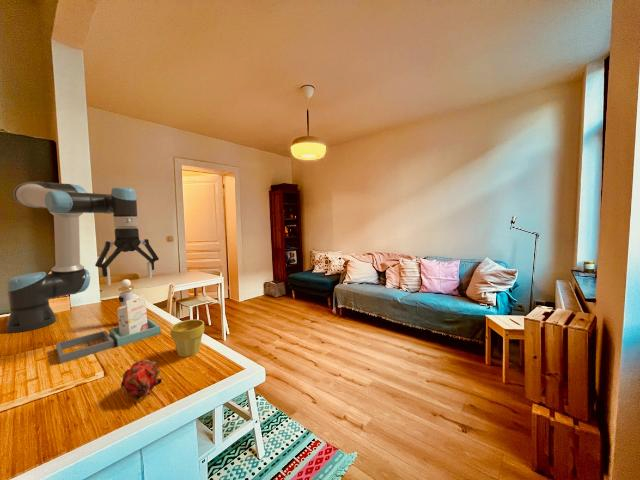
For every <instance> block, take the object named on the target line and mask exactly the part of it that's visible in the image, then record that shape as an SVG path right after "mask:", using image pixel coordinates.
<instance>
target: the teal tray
mask: <svg viewBox="0 0 640 480" xmlns="http://www.w3.org/2000/svg"><path fill="white" fill-rule="evenodd" d="M147 324H148V329H147V330H143V331H140V332H136V333H133V334H129V335H126V336H122V337H120V331H119V326H115V327H112V328H109V329H108V332H109V333H108V334H109V335H110V337H111V338H112V339H113V340H114V344H116V346H117V347H118V348H119V347H122V346H125V345H128V344H132V343H135V342H139V341H142V340H144V339H147V338H151V337H154V336H157V335H161V333H162V332H161V325H159V324H157V323H156V322H155V321H154V320H152V319H150V318H147Z"/></svg>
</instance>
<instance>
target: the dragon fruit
mask: <svg viewBox="0 0 640 480" xmlns="http://www.w3.org/2000/svg"><path fill="white" fill-rule="evenodd" d="M157 366H158V362H156V361H152V360H149V359H145V358H144V359H142V360H139V361H137V362H135V363H133V364H132V365H131V366H130V368H129V369H126V371H125V372H124V373H123V374H122V382H121V384H120V388H121V389H122V390H124V391H125V393H126V394H128V395H130V397H132V398H133V399H134V400H140V398H141V397H142V396H143V397H144V396H145V397H146V396H147V395H149V394H150V392H151V390H152V389H154V387H156V386H158V385H160V384H161V383H162V381H163V377H159V375H160V371H161V370H159V369H158V368H157ZM158 377H159V378H158Z"/></svg>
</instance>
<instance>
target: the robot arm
mask: <svg viewBox="0 0 640 480" xmlns="http://www.w3.org/2000/svg"><path fill="white" fill-rule="evenodd" d="M12 195H13V198H14V199H15V201H16V202H17V203H19V204H20V205H23V206H26V207H30V208H35V209H47V210H48V212H49V214H51V215H53V225H54V229H53V230H54V258H55V265H54V266H53V267H52V268H51V270H50V273H46V272H45V271H37V272H31V273H25V274H20V275H17V276H14V277H12V278H10V279H9V280H8V281H7V289H6V290H7V294H8V300H9V301H8V302H9V309H10V312H9V313H10V314H9V316H8V319H7V323H6V325H5V331H6V332H7V333H20V332H27V331H33V330H36V329H41V328H45V327H46V326H49V325H52V324H54V323H56V322H57V316H56V314H55V312H54V311H53V309H52V308H51V305H50V302H49V301H50V300H51V299H55V298H60V297H65V296H69V295H76V294H78V293H82V292H84V291H86V290H87V289H88V288H89V287H90V282H91V276H90V272H89V270H88V269H86V268H85V266H83V265H82V264H81V254H80V253H81V251H80V250H81V249H80V248H81V247H80V245H81V244H80V216H81V215H83V214H84V213H85V214H113V215H112V217H113V227H114V228H115V229H114V238H115V239H114V241H108V240H106V241H105V242H104V247H103V249H102V251H101V253H100V255H99V257H98V258H97V260H96V262H95V264H94V265H95V267H97V268H101V272H102V276H103V278H105V277H106V278H105V280H106V285H107V286H112V281H111V268H110V267H109V265H111V263H112V262H113V261H114V260H115V259H116V258H117V257H118V256H119V254H121V252H123V253H127V252H134V251H136V252H137V253H139V254H140V255H141V256H142V257H143V258H144V259H146V260H147V263H146V267H147V268H146V269H147V278H148V279H150V280H151V279H153V271H154V270H155V262H157V261H159V259H160V258H159V257H158V255H157V253H156V252H155V251H154V249H153V248H152V245H150V240H149V239H148V238H144V239H140V234H139V228H138V226H139V221H138V208H137V207H138V205H137V200H138V199H137V193H136V190H135V189H134V188H131V187H124V186H123V187H122V186H121V187H120V186H119V187H115V186H114V187H112V189H111V192H110V193H109V194H108V193H106V194H105V193H91V192H87V191H86V190H85V189H84V187H83V186H80V185H78V184H74V183H73V184H71V183H60V182H46V181H28V182H23V183H21V184H20V183H19V184H18V185H16V187H15V188H14V189H13V192H12ZM141 244H142V245H144V247H145V249H147V251H148V253H149V254H150V255H148V254H147V253H146V252H145V251H144V250H143V249H142V248H141V247H140V245H141ZM113 246H115V247H116V248H115V250H114V251H113V253H111V255H110V256H108V258H107V259H106V260H105V258H106V257H107V254H108V253H109V252H110V248H112V247H113Z"/></svg>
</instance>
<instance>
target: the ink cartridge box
mask: <svg viewBox="0 0 640 480" xmlns="http://www.w3.org/2000/svg"><path fill="white" fill-rule="evenodd" d="M133 301H134V303H133ZM116 313H117V321H118V327H119V331H120V337H122V336H126V335H129V334H133V333H136V332H140V331H143V330H147V329H148V324H147V319H148V314H147V313H148V311H147V303H146V299H145V295H143V294H142V295H139V296H137V297H133V299H131V300H127V301H126V306H123V307H121V306H119V307H118V308H117V312H116Z"/></svg>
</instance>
